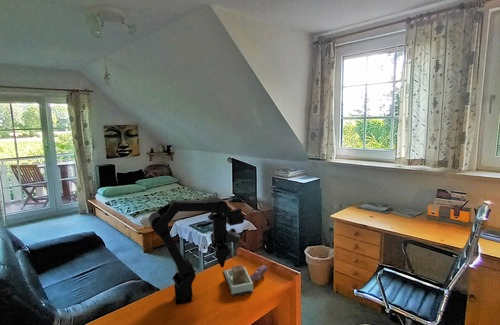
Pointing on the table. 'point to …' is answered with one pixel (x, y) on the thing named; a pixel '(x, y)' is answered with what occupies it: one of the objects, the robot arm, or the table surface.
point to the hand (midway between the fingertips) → (220, 261)
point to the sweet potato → (259, 273)
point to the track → (237, 293)
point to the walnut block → (238, 274)
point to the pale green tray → (239, 287)
